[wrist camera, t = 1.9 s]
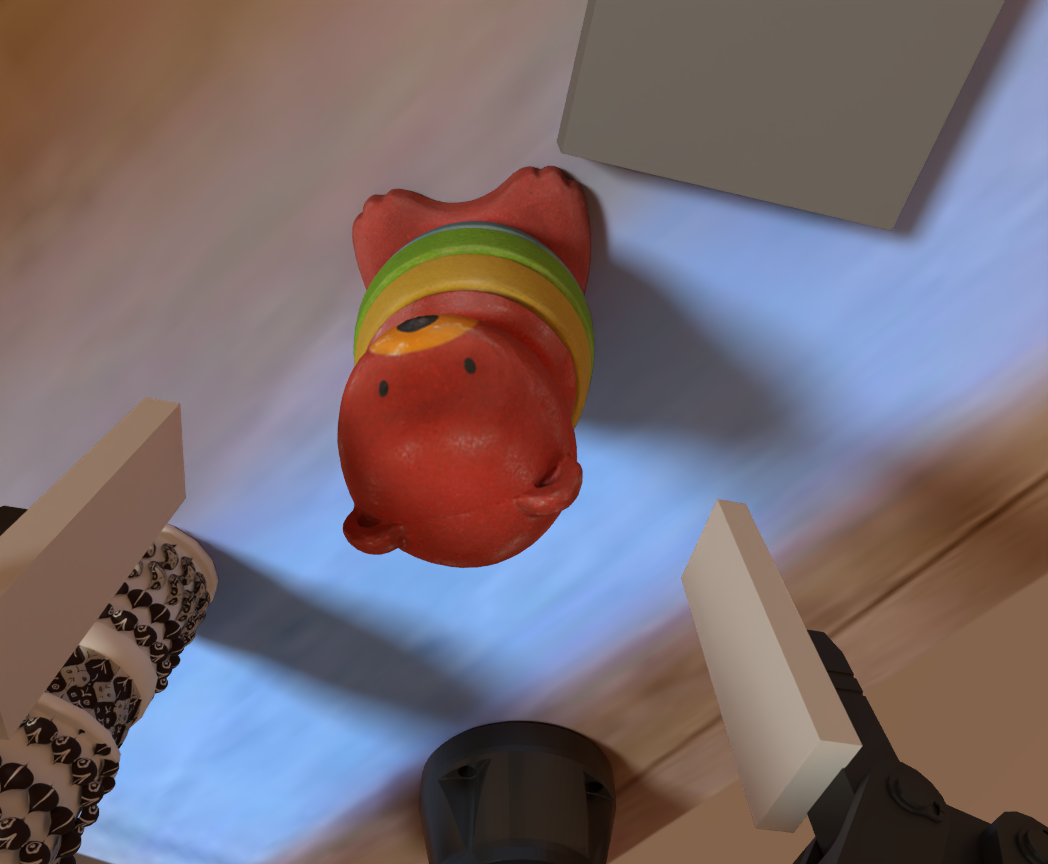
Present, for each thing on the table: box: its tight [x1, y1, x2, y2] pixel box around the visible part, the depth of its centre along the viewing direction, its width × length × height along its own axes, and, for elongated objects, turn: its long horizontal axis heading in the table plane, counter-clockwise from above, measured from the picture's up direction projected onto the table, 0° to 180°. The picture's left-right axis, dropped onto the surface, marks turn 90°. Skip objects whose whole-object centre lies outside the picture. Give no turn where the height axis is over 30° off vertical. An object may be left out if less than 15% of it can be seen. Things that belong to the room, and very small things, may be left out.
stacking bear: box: [337, 166, 594, 568], centre depth 24 cm, size 11×10×18 cm
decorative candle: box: [0, 524, 219, 864], centre depth 30 cm, size 9×9×25 cm
